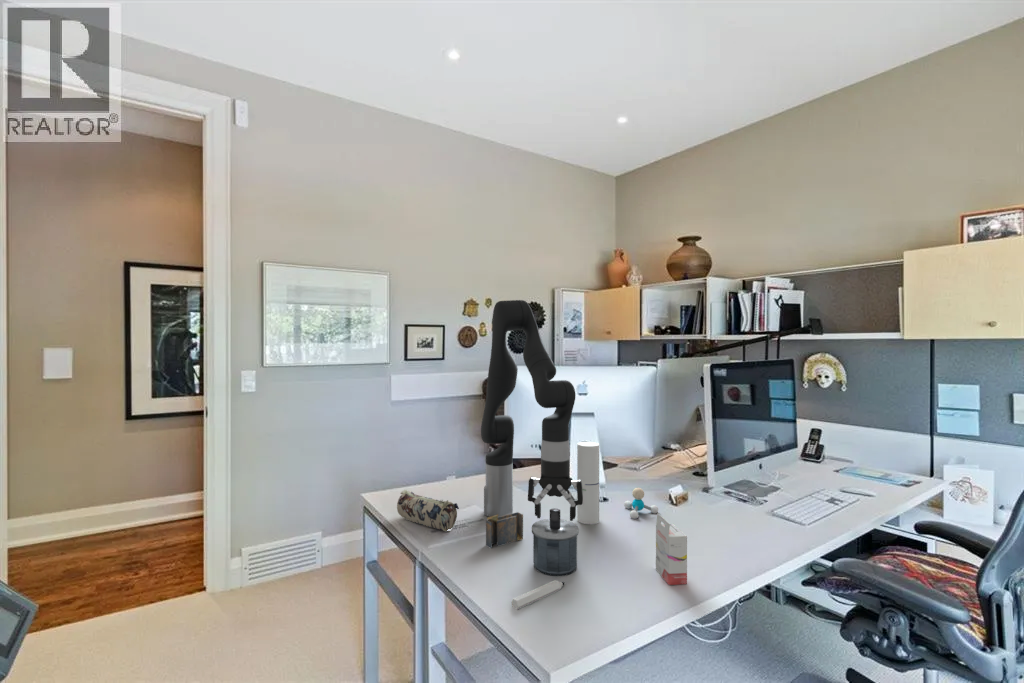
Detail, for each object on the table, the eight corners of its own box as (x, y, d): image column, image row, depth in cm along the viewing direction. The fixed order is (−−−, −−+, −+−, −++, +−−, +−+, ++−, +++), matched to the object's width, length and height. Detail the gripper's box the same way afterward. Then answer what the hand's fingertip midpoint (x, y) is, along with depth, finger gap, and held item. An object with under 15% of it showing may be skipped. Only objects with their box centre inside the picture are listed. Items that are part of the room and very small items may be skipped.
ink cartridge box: (688, 585, 116) (688, 524, 116) (668, 585, 116) (668, 524, 116) (673, 568, 125) (673, 511, 125) (654, 569, 124) (655, 512, 124)
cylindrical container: (599, 525, 154) (599, 446, 154) (576, 523, 155) (576, 445, 155) (599, 516, 161) (599, 442, 161) (577, 515, 162) (578, 441, 162)
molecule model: (616, 508, 170) (615, 483, 170) (646, 505, 173) (646, 481, 173) (632, 520, 158) (632, 494, 158) (664, 517, 161) (664, 491, 161)
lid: (528, 538, 121) (528, 516, 121) (535, 520, 133) (535, 501, 133) (576, 542, 119) (576, 520, 119) (579, 524, 131) (579, 504, 131)
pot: (529, 576, 120) (529, 540, 120) (538, 552, 134) (538, 519, 134) (574, 580, 118) (574, 544, 118) (578, 555, 132) (578, 522, 132)
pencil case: (460, 527, 152) (460, 496, 152) (441, 536, 145) (441, 504, 145) (412, 513, 165) (412, 484, 165) (393, 520, 158) (393, 490, 158)
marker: (566, 589, 116) (515, 612, 106) (560, 582, 118) (510, 604, 107) (570, 582, 115) (519, 604, 105) (564, 574, 117) (514, 596, 106)
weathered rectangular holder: (491, 550, 136) (491, 516, 136) (486, 546, 139) (486, 512, 139) (524, 540, 143) (523, 508, 143) (518, 537, 145) (517, 505, 145)
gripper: (525, 458, 124) (526, 522, 124) (581, 461, 121) (581, 526, 121) (530, 452, 131) (530, 511, 131) (583, 454, 128) (583, 515, 128)
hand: (555, 518), depth 126 cm, fingers open, 8 cm apart
